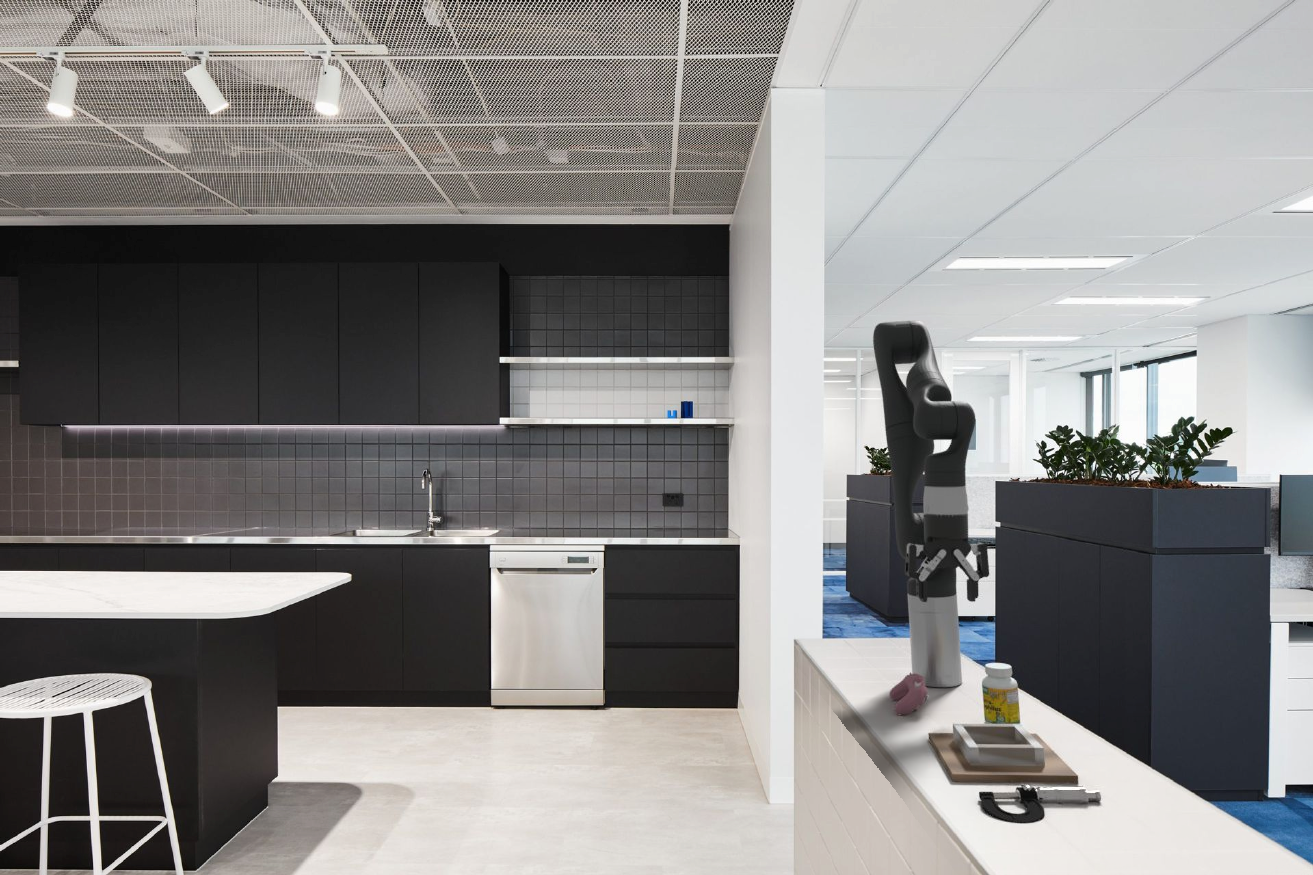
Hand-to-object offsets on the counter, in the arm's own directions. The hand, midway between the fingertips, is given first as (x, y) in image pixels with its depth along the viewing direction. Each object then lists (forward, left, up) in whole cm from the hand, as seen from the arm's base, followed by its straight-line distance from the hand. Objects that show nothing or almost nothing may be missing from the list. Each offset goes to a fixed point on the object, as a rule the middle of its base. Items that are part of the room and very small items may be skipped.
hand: (947, 601), depth 137 cm
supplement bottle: (+11, +5, -19) cm, 22 cm away
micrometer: (+42, +1, -19) cm, 46 cm away
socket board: (+26, 0, -18) cm, 32 cm away
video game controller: (+2, -8, -19) cm, 20 cm away
